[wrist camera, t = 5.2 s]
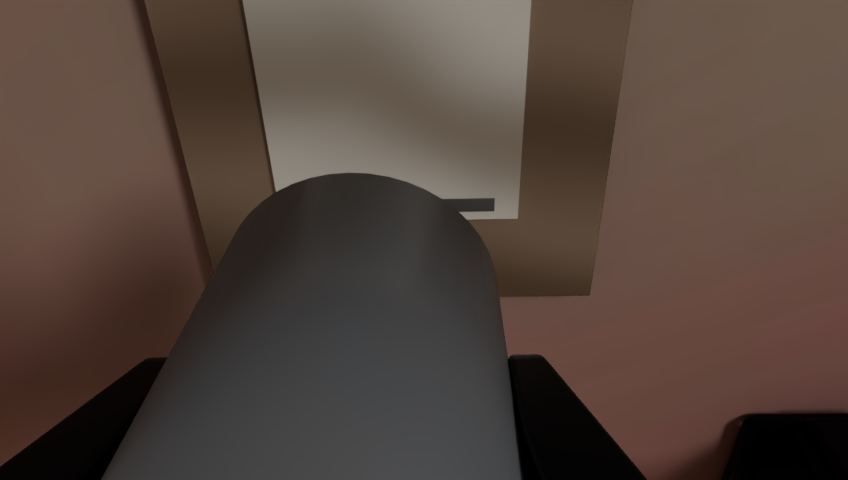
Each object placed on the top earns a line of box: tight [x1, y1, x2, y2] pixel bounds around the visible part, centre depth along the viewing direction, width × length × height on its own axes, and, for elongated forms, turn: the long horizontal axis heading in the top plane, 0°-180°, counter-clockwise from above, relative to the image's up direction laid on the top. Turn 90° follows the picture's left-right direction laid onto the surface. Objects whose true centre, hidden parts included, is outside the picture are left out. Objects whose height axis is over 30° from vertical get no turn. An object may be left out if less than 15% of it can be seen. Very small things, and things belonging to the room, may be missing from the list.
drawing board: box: [144, 0, 633, 297], centre depth 17 cm, size 13×12×1 cm
